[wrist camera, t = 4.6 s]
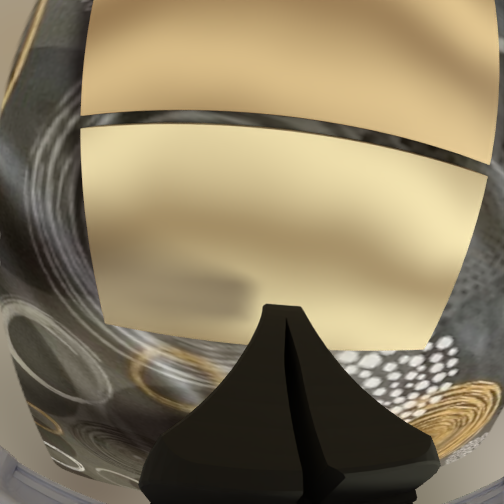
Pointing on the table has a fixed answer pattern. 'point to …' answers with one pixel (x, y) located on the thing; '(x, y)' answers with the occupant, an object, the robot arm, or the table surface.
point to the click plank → (273, 231)
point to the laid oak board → (305, 63)
